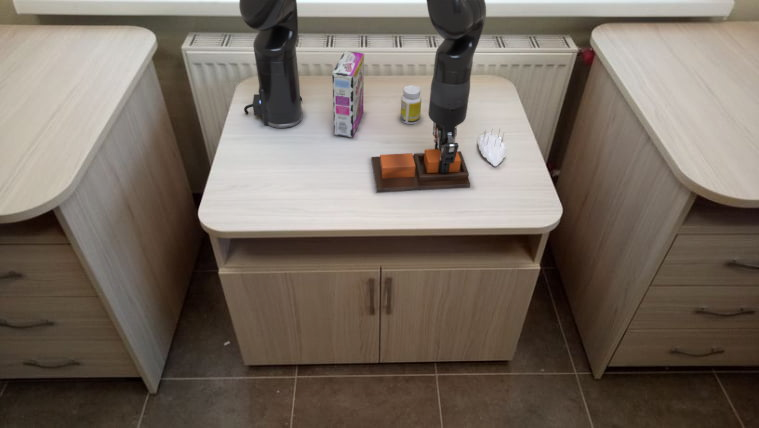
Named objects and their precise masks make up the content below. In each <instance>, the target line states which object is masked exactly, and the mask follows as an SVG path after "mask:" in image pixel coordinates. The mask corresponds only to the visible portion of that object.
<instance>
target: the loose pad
mask: <svg viewBox="0 0 759 428" xmlns="http://www.w3.org/2000/svg"><path fill="white" fill-rule="evenodd" d="M458 151H459V150H457V154H456V157H455V161H454V163H450V166H449V172H459V170H460V163H461V160H460V157H459V154H458ZM423 153H424V163H425V167H426V171H427V173H439V172H438V167H439V155H440V150H439V149H435V148H430V149H424V152H423Z"/></svg>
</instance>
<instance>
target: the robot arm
mask: <svg viewBox="0 0 759 428" xmlns="http://www.w3.org/2000/svg"><path fill="white" fill-rule="evenodd" d="M238 4H239V5H238V7H239V13H240V16H241V19H242V20H243V22H244V23H245V25H246V26H248V27H249V28H250V29H252V30H254V31H258V33H257V34H256V36H255V38H254V40H253V44H252V45H253V53H254V59H255V66H256V74H257V80H258V93H255V94H253V98H252V103H251V104H247V105H245V106H244V107H243V111H244V113H245V114H246V115H248V114H249V111H248V109H250V108H252V111H253V115H254V116H262V123H263V126H269V127H271V128H272V127H273V128H276V129H287V128H291V127H293V126H296V125H298V124H300V123H301V121H302V120H303V118H304V117H303V108H302V104H303V98H302V96H301V88H300V79H299V78H300V76H299V67H298V55H297V43H298V39H299V19H298V18H299V17H298V16H299V15H298V3H297V0H239V3H238ZM426 6H427V12H428V17H429V21H430V23H431V26H432V27H433V29H434V31H435V32H436V33H437V35H439V36H440V37H441V38H442V39H443V40H442V42H441V43H440V44H439V45H438V47H437V48H436V51H435V54H434V63H433V75H432V80H431V83H430V90H429V91H430V93H429V101H428V102H429V103H428V117H429V119H430V120H431V122H433V124H432V125H433V126H432V136H433V137H434V138H433V142H434V149H439V150H440V155H439V167H438V172H439V174H440V173H448V172H449V166H450V163H454V161H455V157H456V154H457V151H459V143H458V142H456V138H457V136H458V129H457V126H459V125H461V124H462V123H464V121H465V120H466V117H467V112H468V106H469V99H470V93H471V92H470V91H471V76H472V71H473V61H474V55H475V52H476V50H477V47H478V45H479V42H480V40H481V36H482V33H483V30H484V27H485V24H486V20H487V19H486V18H487V5H486V0H426Z"/></svg>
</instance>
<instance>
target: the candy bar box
mask: <svg viewBox="0 0 759 428" xmlns="http://www.w3.org/2000/svg"><path fill="white" fill-rule="evenodd" d="M364 76H365V53H362V52H357V51H348V50H344V51H343V53H342V55H341V56H340V59H339V61H338V62H337V64H336V65H335V67H334V69H333V71H332V73H331V77H332V78H331V79H332V112H333V113H332V115H333V136H338V137H344V138H351V139H352V138H354V136H355V133H356V131H357V128H358V126H359V124H360V121H361V119H362V117H363V114H364V84H365V83H364V80H365V79H364V78H365V77H364Z"/></svg>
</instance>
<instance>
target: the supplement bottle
mask: <svg viewBox="0 0 759 428" xmlns="http://www.w3.org/2000/svg"><path fill="white" fill-rule="evenodd" d="M402 91H403V92H402V95H401V101H400V102H401V103H400V121H401V122H402V123H404V124H407V125H415V124H418V123H419V122H420V120H421V111H422V110H421V109H422V96H421V88H420V87H419V86H418V85H415V84H409V85H405V86H404V87H403V90H402Z"/></svg>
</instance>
